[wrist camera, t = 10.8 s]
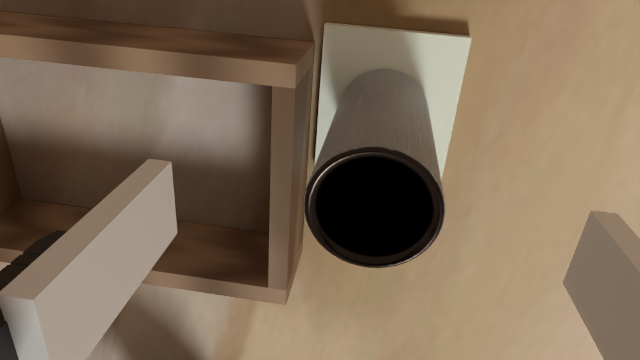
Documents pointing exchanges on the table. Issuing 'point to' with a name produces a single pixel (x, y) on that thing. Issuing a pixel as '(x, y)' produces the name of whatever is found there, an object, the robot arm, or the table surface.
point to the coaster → (398, 54)
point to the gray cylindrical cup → (377, 175)
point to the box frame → (189, 61)
